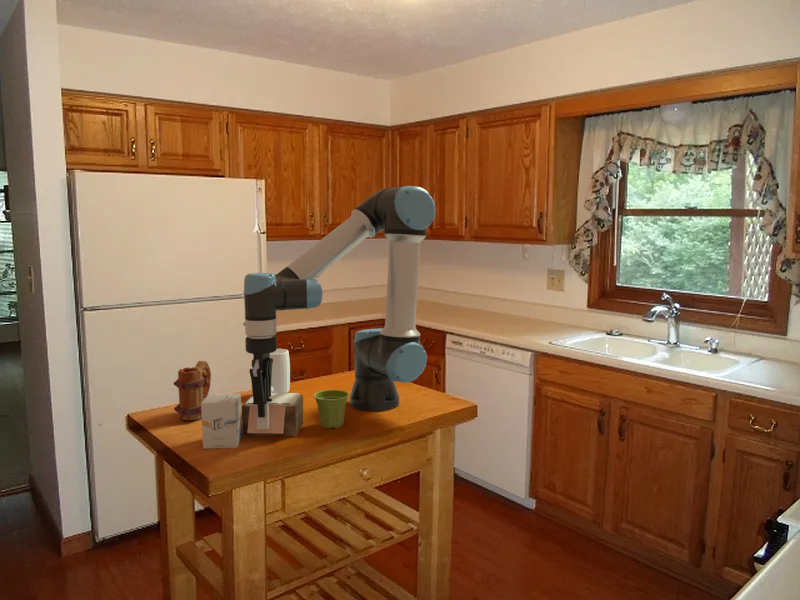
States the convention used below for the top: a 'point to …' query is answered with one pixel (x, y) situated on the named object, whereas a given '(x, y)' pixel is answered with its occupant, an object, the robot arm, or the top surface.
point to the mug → (192, 390)
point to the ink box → (221, 420)
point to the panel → (274, 420)
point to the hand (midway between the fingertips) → (263, 428)
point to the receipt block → (292, 413)
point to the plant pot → (331, 407)
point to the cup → (280, 371)
